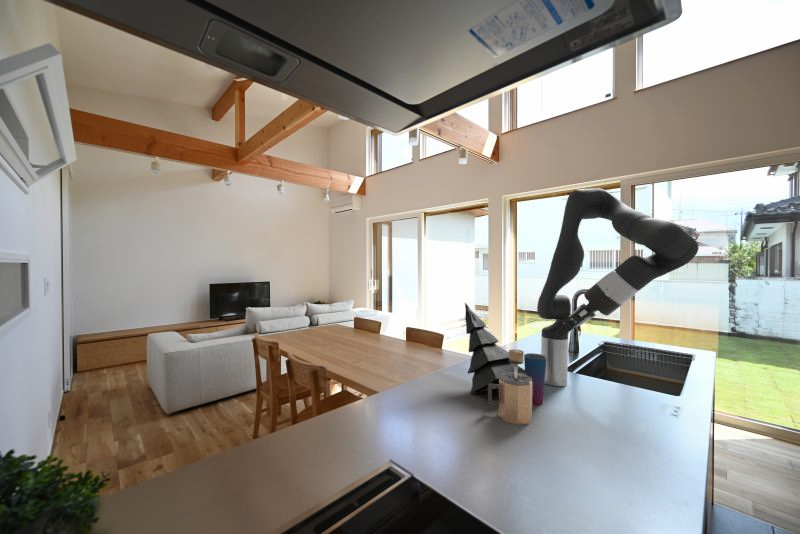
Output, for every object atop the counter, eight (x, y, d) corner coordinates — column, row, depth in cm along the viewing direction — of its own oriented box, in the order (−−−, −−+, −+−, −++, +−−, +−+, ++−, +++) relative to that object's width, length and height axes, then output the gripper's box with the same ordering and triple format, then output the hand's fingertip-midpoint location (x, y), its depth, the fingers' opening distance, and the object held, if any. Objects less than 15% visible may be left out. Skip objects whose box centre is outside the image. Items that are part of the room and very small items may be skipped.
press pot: (486, 412, 101) (486, 373, 101) (520, 409, 104) (521, 371, 103) (500, 426, 93) (501, 383, 93) (537, 423, 95) (537, 381, 95)
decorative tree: (505, 397, 121) (469, 311, 138) (534, 384, 110) (490, 292, 128) (474, 405, 114) (440, 313, 131) (501, 392, 103) (460, 294, 120)
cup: (547, 407, 106) (548, 360, 105) (524, 405, 107) (525, 358, 107) (543, 398, 112) (544, 354, 112) (521, 396, 114) (522, 352, 113)
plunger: (505, 410, 100) (506, 349, 100) (517, 409, 101) (518, 349, 101) (512, 416, 96) (513, 353, 96) (525, 415, 97) (526, 352, 97)
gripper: (603, 280, 90) (557, 318, 98) (592, 282, 79) (542, 325, 87) (626, 301, 87) (577, 338, 95) (619, 307, 76) (564, 349, 84)
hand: (560, 332), depth 91 cm, fingers open, 8 cm apart
